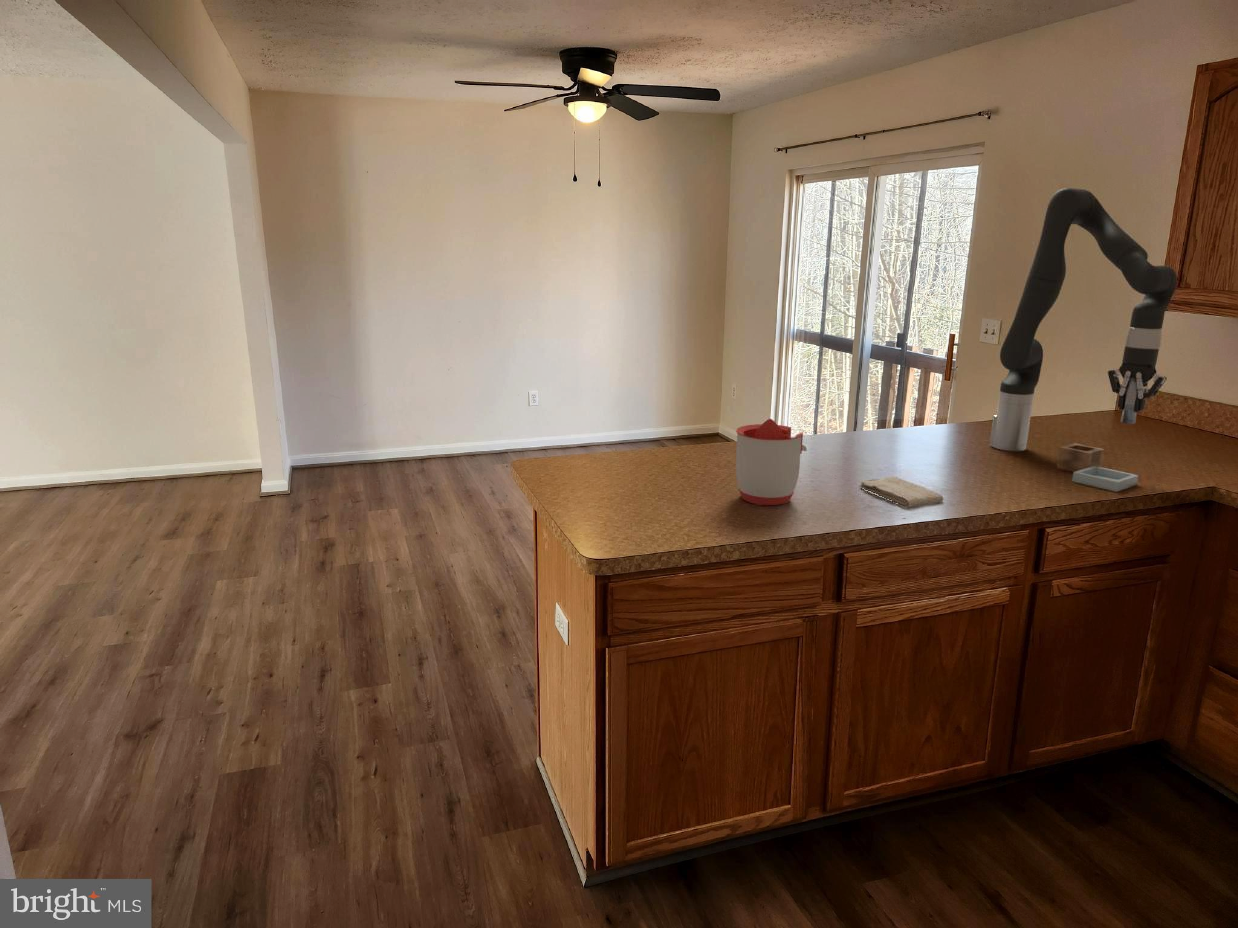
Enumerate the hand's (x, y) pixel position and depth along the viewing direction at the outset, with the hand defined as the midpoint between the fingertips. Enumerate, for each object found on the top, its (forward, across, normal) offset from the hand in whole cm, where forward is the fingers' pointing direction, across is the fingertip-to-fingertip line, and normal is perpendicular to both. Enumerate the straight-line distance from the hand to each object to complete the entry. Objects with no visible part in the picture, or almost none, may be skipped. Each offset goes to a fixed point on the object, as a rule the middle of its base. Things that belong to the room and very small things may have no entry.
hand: (1130, 410), depth 213 cm
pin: (+3, 0, 0) cm, 3 cm away
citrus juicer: (+18, -38, -93) cm, 102 cm away
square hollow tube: (+18, -9, -2) cm, 20 cm away
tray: (+18, +1, -10) cm, 21 cm away
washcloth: (+19, -22, -64) cm, 70 cm away
